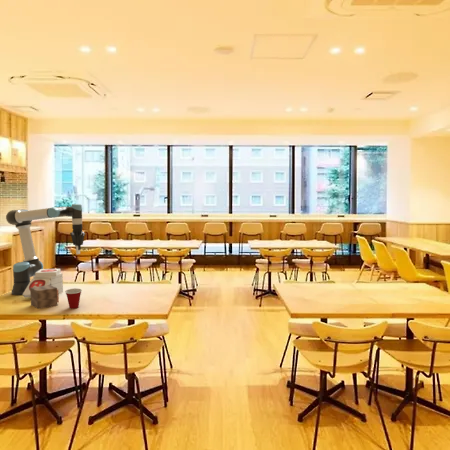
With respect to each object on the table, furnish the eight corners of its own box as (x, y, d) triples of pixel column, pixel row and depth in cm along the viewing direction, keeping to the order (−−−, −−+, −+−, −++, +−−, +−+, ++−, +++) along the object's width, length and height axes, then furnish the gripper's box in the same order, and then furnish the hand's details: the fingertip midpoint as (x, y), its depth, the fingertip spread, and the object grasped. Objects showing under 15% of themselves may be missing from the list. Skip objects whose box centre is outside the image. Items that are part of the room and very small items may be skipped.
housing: (49, 301, 314) (49, 284, 313) (57, 305, 304) (56, 287, 303) (31, 305, 305) (30, 287, 304) (38, 308, 295) (37, 290, 294)
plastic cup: (64, 310, 291) (63, 292, 290) (66, 306, 302) (66, 288, 301) (81, 309, 293) (80, 291, 292) (83, 305, 304) (82, 288, 303)
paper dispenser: (20, 299, 321) (19, 275, 319) (45, 290, 350) (44, 268, 348) (43, 300, 317) (42, 276, 315) (67, 291, 346) (66, 268, 344)
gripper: (87, 223, 344) (88, 253, 346) (73, 223, 349) (74, 252, 351) (80, 224, 337) (81, 255, 339) (67, 224, 342) (68, 254, 344)
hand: (78, 253), depth 345 cm, fingers closed
